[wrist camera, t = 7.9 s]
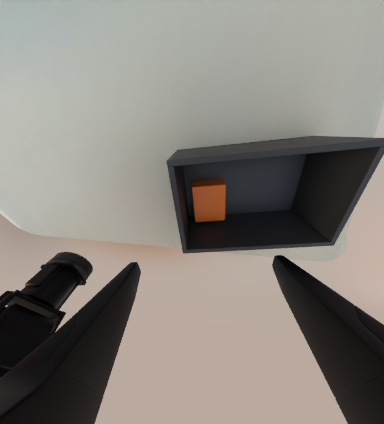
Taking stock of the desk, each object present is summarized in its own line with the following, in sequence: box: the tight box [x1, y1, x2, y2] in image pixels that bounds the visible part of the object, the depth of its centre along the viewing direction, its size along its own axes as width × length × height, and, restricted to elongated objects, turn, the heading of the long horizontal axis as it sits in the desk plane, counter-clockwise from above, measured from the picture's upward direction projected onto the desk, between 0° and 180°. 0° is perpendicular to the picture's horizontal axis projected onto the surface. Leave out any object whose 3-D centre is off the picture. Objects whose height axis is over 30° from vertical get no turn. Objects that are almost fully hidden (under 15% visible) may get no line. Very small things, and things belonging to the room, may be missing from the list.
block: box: [192, 179, 226, 222], centre depth 19 cm, size 5×4×2 cm
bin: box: [167, 136, 384, 253], centre depth 16 cm, size 10×16×8 cm, turn 95°
